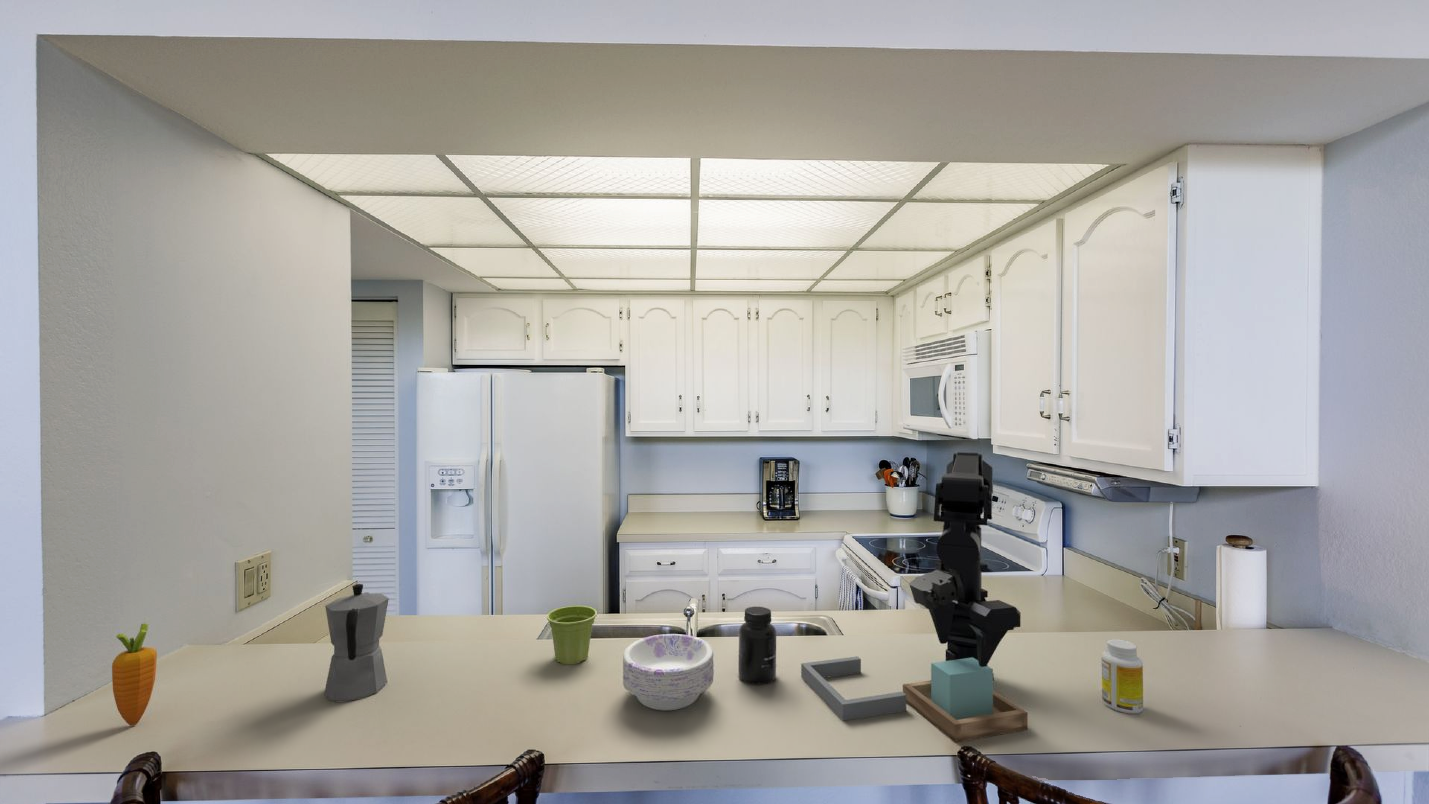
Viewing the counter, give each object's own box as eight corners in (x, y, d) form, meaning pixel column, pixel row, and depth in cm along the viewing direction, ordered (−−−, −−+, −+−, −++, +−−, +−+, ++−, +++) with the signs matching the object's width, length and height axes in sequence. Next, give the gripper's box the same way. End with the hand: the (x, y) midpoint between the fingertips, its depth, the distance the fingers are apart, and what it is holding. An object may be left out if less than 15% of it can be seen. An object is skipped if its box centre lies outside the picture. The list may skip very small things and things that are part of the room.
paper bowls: (622, 724, 90) (622, 672, 90) (622, 679, 105) (623, 635, 105) (720, 717, 92) (720, 666, 92) (707, 674, 107) (707, 630, 107)
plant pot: (597, 666, 110) (597, 620, 110) (545, 671, 108) (545, 624, 108) (595, 646, 119) (596, 604, 119) (547, 651, 117) (548, 607, 117)
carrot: (115, 738, 85) (117, 635, 86) (105, 728, 88) (107, 628, 88) (161, 723, 90) (162, 624, 90) (150, 713, 92) (152, 618, 92)
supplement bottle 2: (1150, 710, 94) (1150, 647, 95) (1130, 718, 92) (1130, 653, 92) (1114, 695, 100) (1114, 635, 100) (1094, 702, 97) (1093, 640, 97)
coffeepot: (330, 678, 105) (331, 577, 105) (390, 668, 109) (391, 571, 109) (314, 719, 91) (315, 603, 91) (383, 706, 95) (385, 595, 95)
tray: (968, 690, 101) (968, 674, 101) (1027, 729, 89) (1027, 712, 89) (902, 700, 98) (902, 684, 98) (955, 742, 85) (955, 724, 85)
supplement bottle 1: (774, 687, 102) (774, 618, 102) (735, 683, 103) (735, 615, 103) (777, 670, 109) (778, 605, 109) (741, 667, 110) (741, 603, 110)
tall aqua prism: (977, 699, 97) (977, 656, 97) (997, 713, 92) (997, 668, 92) (931, 706, 94) (931, 663, 94) (949, 720, 90) (949, 675, 90)
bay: (857, 669, 109) (857, 656, 109) (906, 710, 94) (906, 695, 94) (801, 677, 106) (801, 663, 106) (842, 720, 91) (842, 704, 91)
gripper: (884, 545, 100) (884, 637, 100) (958, 574, 82) (959, 686, 82) (940, 542, 103) (940, 631, 103) (1023, 569, 85) (1023, 677, 85)
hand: (962, 654), depth 93 cm, fingers open, 9 cm apart
